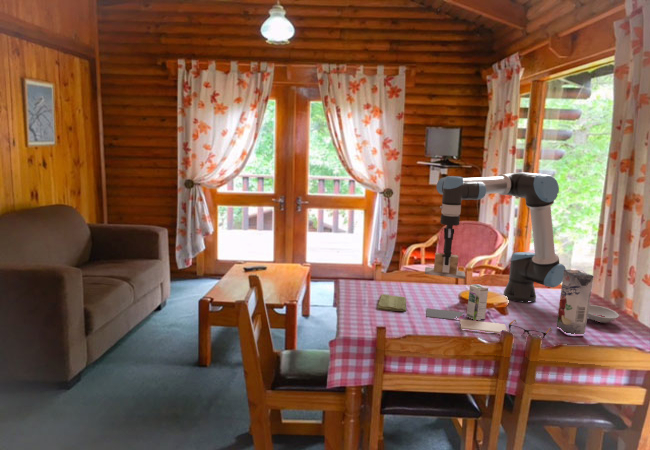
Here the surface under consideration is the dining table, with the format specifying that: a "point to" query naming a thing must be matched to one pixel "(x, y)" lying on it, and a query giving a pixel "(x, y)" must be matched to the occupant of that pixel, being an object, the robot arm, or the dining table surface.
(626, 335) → the dining table surface
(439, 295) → the dining table surface
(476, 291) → the syrup box
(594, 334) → the dining table surface
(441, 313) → the mat
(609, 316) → the dish
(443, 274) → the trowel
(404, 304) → the washcloth
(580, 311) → the juice carton
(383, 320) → the dining table surface
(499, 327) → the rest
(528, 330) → the eyeglasses
